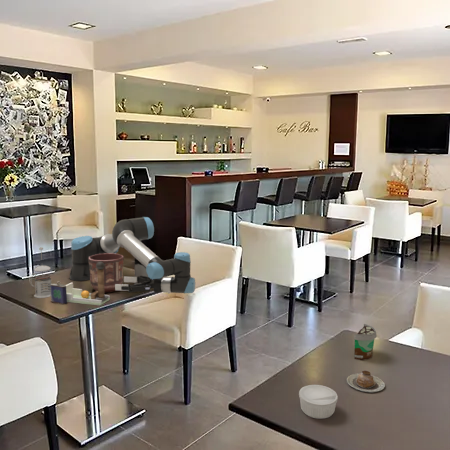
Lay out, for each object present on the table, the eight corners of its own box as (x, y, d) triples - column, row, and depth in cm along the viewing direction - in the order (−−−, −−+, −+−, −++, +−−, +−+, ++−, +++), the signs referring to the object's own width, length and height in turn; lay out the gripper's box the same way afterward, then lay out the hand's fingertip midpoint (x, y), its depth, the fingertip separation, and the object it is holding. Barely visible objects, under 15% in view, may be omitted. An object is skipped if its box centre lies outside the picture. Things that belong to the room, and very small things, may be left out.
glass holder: (131, 286, 263) (130, 259, 260) (143, 279, 276) (142, 253, 274) (145, 287, 260) (145, 260, 258) (157, 280, 273) (156, 254, 271)
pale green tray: (71, 295, 246) (70, 282, 245) (110, 299, 241) (109, 285, 239) (60, 301, 238) (59, 287, 236) (100, 305, 232) (99, 291, 230)
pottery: (103, 297, 244) (102, 262, 241) (83, 290, 255) (81, 256, 253) (130, 289, 258) (130, 256, 255) (110, 283, 269) (109, 251, 266)
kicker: (97, 296, 240) (95, 259, 237) (108, 297, 239) (106, 260, 236) (91, 300, 235) (89, 262, 231) (102, 301, 233) (100, 263, 230)
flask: (50, 302, 236) (49, 280, 234) (54, 300, 239) (53, 279, 237) (64, 304, 232) (63, 283, 231) (69, 303, 235) (68, 281, 233)
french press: (57, 294, 248) (55, 247, 243) (35, 299, 239) (32, 250, 235) (48, 290, 254) (45, 244, 250) (26, 295, 246) (23, 247, 242)
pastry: (338, 383, 159) (339, 370, 158) (362, 373, 165) (363, 360, 165) (368, 398, 149) (369, 384, 148) (392, 387, 156) (393, 374, 155)
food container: (370, 364, 171) (371, 337, 169) (353, 360, 174) (354, 334, 172) (379, 352, 181) (380, 326, 180) (363, 348, 184) (364, 323, 183)
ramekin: (324, 426, 134) (325, 408, 133) (290, 411, 141) (291, 394, 140) (344, 409, 142) (344, 393, 141) (311, 396, 149) (311, 380, 148)
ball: (84, 296, 241) (83, 289, 241) (91, 297, 240) (90, 289, 240) (79, 299, 237) (79, 291, 237) (86, 299, 236) (86, 292, 236)
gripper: (156, 300, 220) (111, 298, 222) (168, 284, 245) (127, 283, 247) (156, 284, 219) (111, 282, 221) (168, 270, 244) (127, 269, 246)
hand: (119, 283), depth 234 cm, fingers open, 13 cm apart
